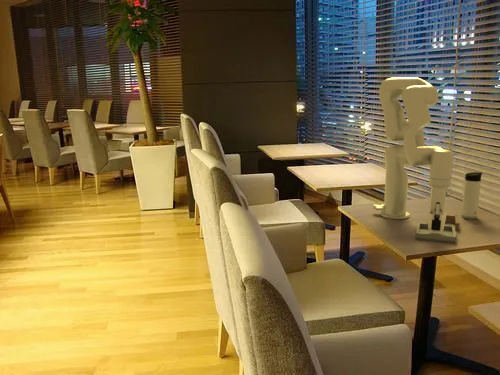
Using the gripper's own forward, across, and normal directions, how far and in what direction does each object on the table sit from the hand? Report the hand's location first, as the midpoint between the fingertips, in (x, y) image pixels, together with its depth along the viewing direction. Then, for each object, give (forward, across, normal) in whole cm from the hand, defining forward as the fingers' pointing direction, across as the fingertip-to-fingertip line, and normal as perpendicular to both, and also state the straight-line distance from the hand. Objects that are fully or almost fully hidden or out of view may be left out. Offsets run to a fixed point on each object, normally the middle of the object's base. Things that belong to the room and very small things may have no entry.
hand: (435, 227), depth 185 cm
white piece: (+1, 0, 0) cm, 1 cm away
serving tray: (+3, 0, 0) cm, 3 cm away
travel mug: (+4, -31, +14) cm, 34 cm away
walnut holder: (+3, -15, +3) cm, 16 cm away
